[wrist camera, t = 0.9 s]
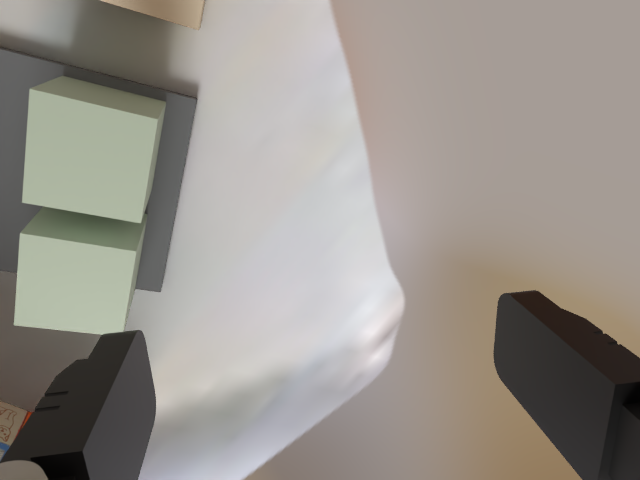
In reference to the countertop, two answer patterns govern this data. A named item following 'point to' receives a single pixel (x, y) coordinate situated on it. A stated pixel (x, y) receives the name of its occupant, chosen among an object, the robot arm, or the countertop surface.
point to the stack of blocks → (10, 425)
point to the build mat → (10, 144)
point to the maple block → (167, 10)
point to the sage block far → (77, 271)
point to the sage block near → (91, 148)
